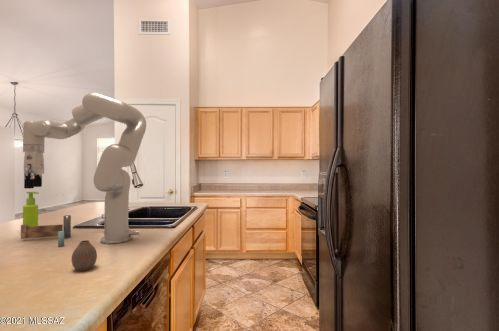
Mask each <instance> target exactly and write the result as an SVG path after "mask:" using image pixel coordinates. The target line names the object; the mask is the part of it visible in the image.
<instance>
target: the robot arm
mask: <svg viewBox="0 0 499 331" xmlns="http://www.w3.org/2000/svg"><path fill="white" fill-rule="evenodd" d="M81 103H82V104H80V105H77V106H75V107H74V108H72V110H71V114H72V118H70V119H69V120H67V121H64V122H58V121H52V120H49V119H48V120H47V119H42V120H26V121H24V122H23V123H22V124H23V127H22V153H24V158H23V173H24V174H23V181H24V182H23V185H24V186H23V188H24V189H34V188H41V187H42V184H43V175H44V174H45V158H44V153H45V138H47V139H56V140H64V139H65V140H66V139H68V138H71V137H74V136H75V135H77V134H80V133H81V131H83V130H84V129H85V127H86V126H87V125H90V124H92V123H94V122H96V121H99V120H101V119H104V118H106V119H109V120H110V121H111V120H112V121H115V122H117V123H120V124H124V125H126V128H125V129H124V130H123V132H122V133H121V136H120V138H119V141H118V143H112V144H110V145H108V146H107V147H105V148H104V150H103V151H102V153H101V155H100V159H99V161H98V163H97V167H96V169H95V173H94V175H93V184H94V187H95V189H97V190H98V191H100V192H103V193H105V196H104V222H103V223H104V229H103V230H104V232H103V233H104V236H103V237H101V238H100V239H99V240H100V243H102V244H107V245H110V244H111V245H113V244H120V243H125V242H128V241H131V240H132V239H133V236H139V235H140V230H137V229H134V230H132V229H131V228H130V227H129V204H130V202H129V201H130V200H129V199H130V198H129V196H130V195H129V194H130V188H131V176H130V174H129V172H127V170H124V169H123V168H127V167H130V166H132V165H133V164H135V161H136V159H137V155H138V154H139V151H140V147H141V144H142V140H143V138H144V135H145V133H146V130H147V120H146V117H145V116H144V115H143V113H142V112H141V111H140V110H139V109H137V107H134V106H132V105H130V104H127V103H125V102H123V101H121V100H118V99H115V98H112V97H109V96H106V95H104V94H101V93H99V92H95V91H94V92H88V93H87V94H85V95H84V96H83V97H82V101H81Z"/></svg>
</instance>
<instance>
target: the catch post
mask: <svg viewBox="0 0 499 331" xmlns="http://www.w3.org/2000/svg"><path fill="white" fill-rule="evenodd" d="M57 239H58V240H57V247H58V248H62V247H65V238H64V231H59V232H58V236H57Z"/></svg>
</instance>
